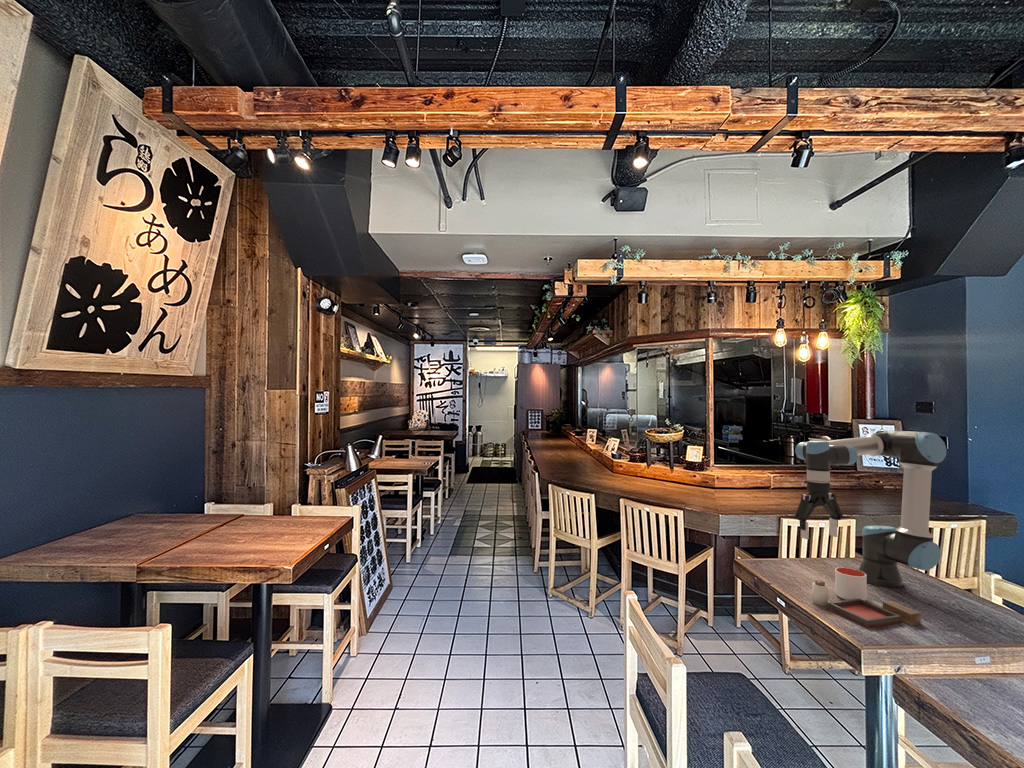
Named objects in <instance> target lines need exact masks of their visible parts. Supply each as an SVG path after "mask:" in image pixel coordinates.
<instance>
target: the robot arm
mask: <svg viewBox="0 0 1024 768" xmlns="http://www.w3.org/2000/svg"><path fill="white" fill-rule="evenodd" d="M946 446H947V445H946V444H945V442H944V440H943V439H942V438H941V436H939V435H937V434H936V433H934V432H928V431H927V432H925V431H911V430H910V431H909V430H887V431H881V432H873V433H868V434H865V435H864V436H859V437H853V438H842V439H834V440H833V439H832V440H809V441H802V442H799V443H797V445H796V446H795V449H794V450H795V451H794V452H795V455H796V456H797V458H798V459H800V460H804V461H805V462H806V479H807V481H806V490H807V492H808V494H804V493H802V494H801V495H800V497H801V498H800V501H799V505H798V508H797V509H796V513H795V515H794V519H795V520H798V521H799V529H800V538H801V539H804V540H809V539H810V537H809V536H810V535H809V521H808V519H809V517H811V514H812V512H813V511H814V509H815V508H816V509H817V507H823V508H824V510H825V511H826V512H827V514H828V515H829V516H830V517H829V518H828V519H829V520H828V521H829V523H828V524H829V525H828V529H829V536H831V537H834V538H838V527H839V521H840V520H841V519H842V518H843V512H842V510H841V508H840V506H839V504H838V501H837V496H836V494H835V493H833V492H831V483H830V481H831V466H851V465H853V464H855V463H856V462H857V460H858V457H859V456H867V455H869V456H872V457H878V456H879V457H889V458H895V459H896V458H897V459H899V464H900V465H901V466H902V467H903V476H902V477H903V479H902V480H903V481H902V499H901V512H900V513H901V514H900V526H899V527H894V526H889V525H875V524H874V525H865V526H864V527H863V528H862V534H861V537H862V541H861V543H862V544H861V545H862V561H861V563H860V566H859V569H858V570H859V571H862V572H864V573H865V574H866V575H867V583H869V584H871V585H875V586H881V587H886V588H901V587H903V586H904V579H903V577H902V575H901V572H900V569H899V566H898V564H902V565H904V566H908V567H910V568H912V569H918V570H921V571H930V570H932V569H933V568H935V567H936V566H937V565H938V564H939V562H940V560H941V556H942V551H941V550H942V549H941V548H940V546H939V545H938V544H937V543H935V542H934V536H933V534H932V533H930V530H929V529H930V527H929V526H930V508H931V491H932V473H933V472H932V471H934V470H935V469H937V468H938V464H939V463H942V462H943V461H944V460H945V459H946V456H947V447H946Z"/></svg>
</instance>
